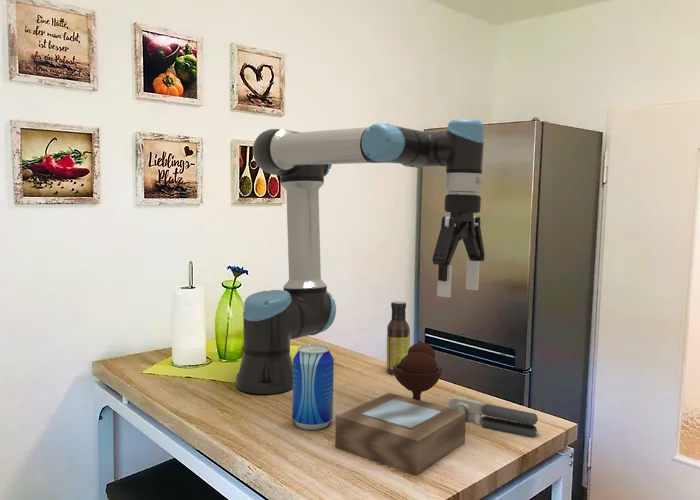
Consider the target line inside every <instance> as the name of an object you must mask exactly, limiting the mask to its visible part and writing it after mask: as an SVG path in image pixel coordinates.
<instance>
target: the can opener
mask: <svg viewBox="0 0 700 500" xmlns="http://www.w3.org/2000/svg"><path fill="white" fill-rule="evenodd" d="M447 408H451V409H455V410H458V411H462V412H466V422H469V421H472V420H473V421H474V423H475V424H477V425H481V427H483V428H487V429H491V430H495V431H501V432H505V433H511V434H514V435H515V434H516V435H520V436H526V437H530V438H533V437H535V436H537V433H538V430H537V429H538V428H537V426H535V425H536V424H537V422H538V420H539V418H538V415H537V414H536V413H535V412H534V413H533V412H529V411H524V410H518V409H513V408H509V407H504V406H498V405H495V404H494V405H493V404H489V403H486V404H484V403H483V402H482V401H475V400H470V399H467V398H461V397H456V396H452V398H450V401H449V403H448V405H447ZM482 415H483V416H482Z"/></svg>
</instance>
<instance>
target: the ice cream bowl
mask: <svg viewBox="0 0 700 500" xmlns="http://www.w3.org/2000/svg"><path fill="white" fill-rule="evenodd" d="M435 358H436V352H435V349H434V348H433V347H432V346H431V345H430V344H428V343H426V342H417V343H414V344H412V345H410V348H409V350H408V355H406V356H405V357H404V358H403V359H402V360H401V362H400V363H397V364H396V365H395V366H394V367H393V371H394V375H395V376H394V375H393V376H394V377H395V379H396V380H397V382H399V384H400V385H402V386H403V388H405V389H406V390H408V391H410V392H411V393H412V399H416V400H419V401H422V400H421V398H422V397H421V396H422V393H424V392H426V391H429V390H431V389H432V388H433V387H434V386H435V385H436V384H437V383H438V381H439V380H440V378H441V376H442V371H443V368H442V367H440V366H439V365H438V364H437V361H436V359H435Z"/></svg>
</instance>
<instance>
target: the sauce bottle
mask: <svg viewBox="0 0 700 500" xmlns="http://www.w3.org/2000/svg"><path fill="white" fill-rule="evenodd" d="M390 308H391V320H390V321H389V322H388V324H387V326H386V328H387V329H386V330H387V331H386V333H387V335H386V368H387V369H386V373H387V374H388V375H391V376H394V377H395V375H394V371H393V367H394V366H395V365H396V364H397V363H400V362H401V360H402V359H403V358H404V357H405V356H406V355H408V350H409V348H410V347H411V344H410V343H411V331H410V330H411V329H410V325H409V323H408V322H407V320H406V318H407V316H406V314H407V313H406V309H407V302H406V301H401V300H399V301H397V300H395V301H391V303H390Z"/></svg>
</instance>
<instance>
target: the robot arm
mask: <svg viewBox="0 0 700 500" xmlns="http://www.w3.org/2000/svg"><path fill="white" fill-rule="evenodd" d="M484 127H485V126H484V123H483V122H482V121H480V120H478V119H473V118H472V119H471V118H458V119H452V120H450V121H449V122H448V124H447V129H446V130H444V131H422V130H418V129H417V130H416V129H413V128H406V127H402V126H397V125H394V124H391V123H379V122H378V123H377V122H376V123H373V124H371V125H370V126H368V127H356V128H355V127H354V128H352V127H351V128H341V129H329V130H328V129H327V130H314V131H303V132H301V131H293V130H290V129H286V128H284V129H281V128H280V129H279V128H271V129H266V130H265V131H263V132H261V133H260V134H259V135H258V136H257V137H256V138H255V141H254V143H253V144H252V145H253V146H252V147H253V148H252V155H253V159H254V162H255V163H256V165H257V166H258V167H259V169H261V170H262V171H263V172H265V173H267V174H269V175H273V176H279V177H280V178H279V179H280V186H282V187H283V188H284V189H285V191H286V193H285V194H286V218H287V219H286V220H287V221H286V225H287V229H286V230H287V253H288V254H287V257H288V281H286V282H285V284H283V290H281V289H270V290H263V291H258V292H254V293H252V294H250V295H248V296H247V297H246V298H245V300H244V303H243V312H242V317H243V346H242V347H243V348H242V349H243V353H242V354H243V355H242V359H241V363H240V366H239V371H238V372H237V373H236V378H235V386H236V388H237V389H239V390H240V391H242V392H246V393H250V394H259V395H262V394H263V395H268V394H269V395H270V394H271V395H272V394H280V393H285V392H288V391H290V390H293V359H292V357H291V340H295V339H299V338H303V337H308V336H316V335H318V334H319V333H323V332H325V331H327V330H328V329H329V328H330V327H331V326H332V325H333V323H334V321H335V318H336V313H337V304H336V301H335V299H334V298H333V295H332V293H330V292H329V291H328V288H327V286H328V285H327V284H326V282H325V281H323V279H322V275H321V274H322V272H321V270H322V268H321V237H320V236H321V233H320V232H321V231H320V228H321V227H320V201H319V199H320V198H319V197H320V195H319V194H320V193H319V190H320V188H322V187H323V185H324V184H325V179H324V178H325V177H326V176H327V175H328V174H329V172H330V170H331V168H332V166H333V165H339V164H341V165H344V164H347V165H348V164H401V165H402V166H404V167H407V168H408V167H409V168H422V167H423V168H424V167H445V168H446V169H445V183H444V184H445V185H444V186H445V187H444V191H445V192H446V193H447V194H446V195H445V196H444V212H447V213H450V215H449V216H442V217H441V224H440V230H439V234H438V237H437V240H436V245H435V248H434V252H433V255H432V259H431V260H432V262H433V263H432V264H433V265H436V266H437V265H438V267H437V284H436V285H437V289H436V296H437V297H441V298H442V297H443V298H451V296H452V295H451V292H452V275H453V274H452V271H453V270H452V269H453V265H450V264H451V261H452V260H453V256H454V254H455V252H456V249H457V247H458V245H459V242H461V241H463V245H464V247H465V250H466V253H467V256H468V260H466V276H465V277H466V278H465V290H470V291H479V285H480V284H479V283H480V263H481V262H484V261H485V257H486V256H485V255H486V252H485V248H484V242H483V235H482V229H481V217H480V216H474V214H479V213H480V212H481V208H482V207H481V202H482V201H481V200H482V197H481V195H479V194H480V193H481V192H482V183H484V178H483V157H484V144H485V139H484V138H485V134H484V133H485V132H484V130H485V128H484Z"/></svg>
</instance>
